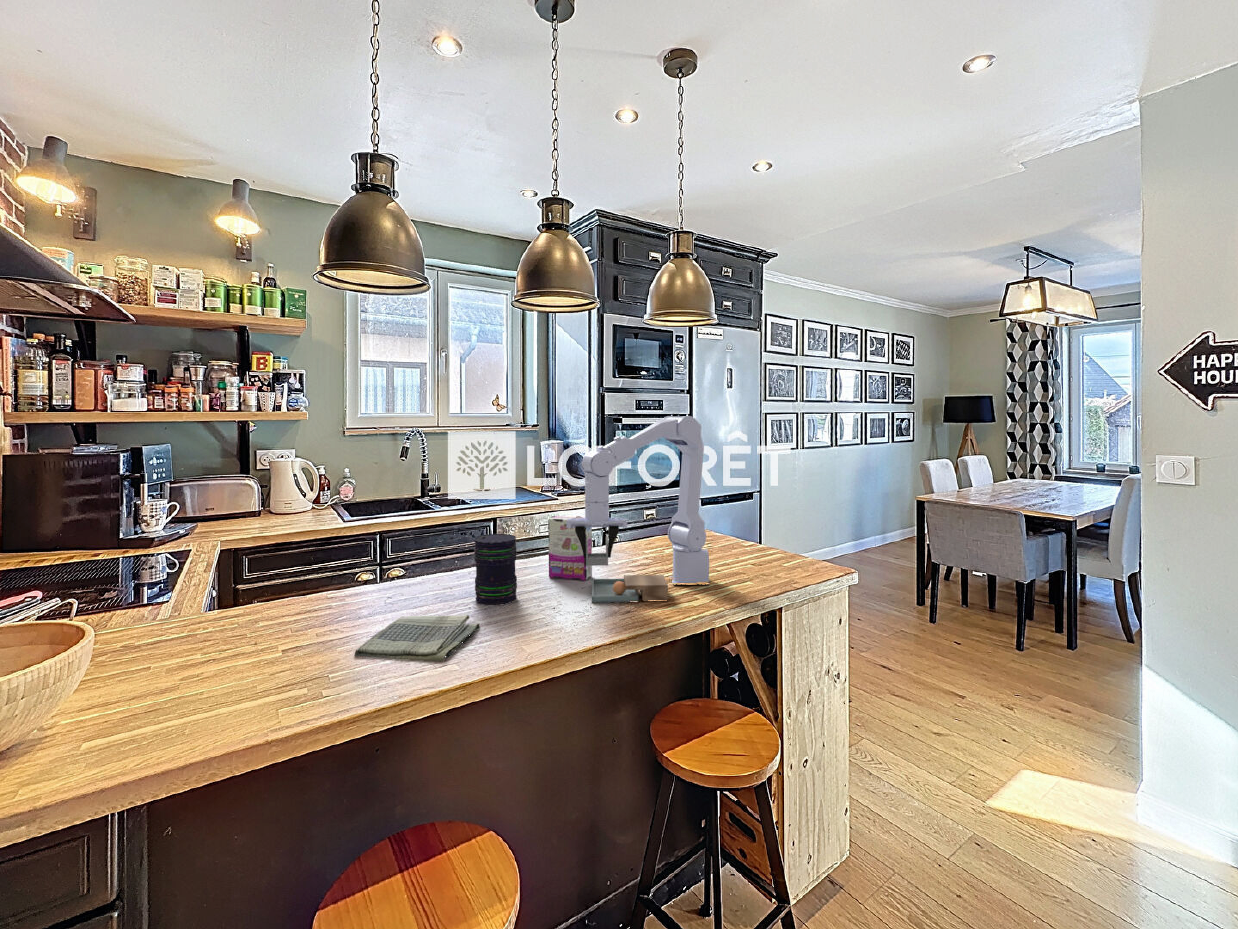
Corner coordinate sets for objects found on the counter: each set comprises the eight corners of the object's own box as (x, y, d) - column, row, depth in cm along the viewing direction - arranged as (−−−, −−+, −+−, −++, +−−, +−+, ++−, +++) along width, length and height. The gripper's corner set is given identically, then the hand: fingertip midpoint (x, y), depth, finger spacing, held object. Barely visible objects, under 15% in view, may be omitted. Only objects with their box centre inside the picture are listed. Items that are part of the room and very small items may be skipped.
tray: (634, 584, 152) (634, 578, 152) (638, 602, 137) (638, 596, 137) (592, 585, 152) (592, 579, 152) (591, 603, 137) (591, 596, 137)
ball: (615, 594, 144) (627, 589, 144) (616, 598, 141) (628, 593, 141) (610, 582, 144) (622, 577, 144) (610, 586, 140) (623, 581, 140)
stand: (663, 590, 147) (663, 575, 147) (667, 601, 138) (667, 585, 138) (623, 591, 147) (623, 575, 147) (625, 602, 138) (625, 585, 138)
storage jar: (521, 593, 144) (521, 534, 143) (510, 606, 135) (509, 542, 134) (482, 592, 145) (481, 533, 144) (468, 605, 136) (467, 541, 135)
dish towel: (351, 659, 106) (350, 642, 106) (400, 625, 124) (400, 610, 124) (448, 665, 104) (447, 648, 103) (484, 629, 121) (484, 614, 121)
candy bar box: (592, 576, 160) (592, 517, 159) (586, 581, 156) (586, 520, 154) (555, 573, 164) (554, 515, 162) (547, 577, 159) (547, 518, 158)
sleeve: (607, 560, 144) (607, 536, 144) (608, 565, 139) (607, 540, 138) (586, 560, 144) (586, 536, 143) (586, 565, 139) (586, 540, 138)
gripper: (565, 503, 136) (566, 561, 137) (627, 503, 137) (627, 560, 138) (567, 499, 143) (567, 554, 144) (626, 499, 144) (626, 553, 145)
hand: (597, 556), depth 141 cm, fingers closed on sleeve, 5 cm apart
